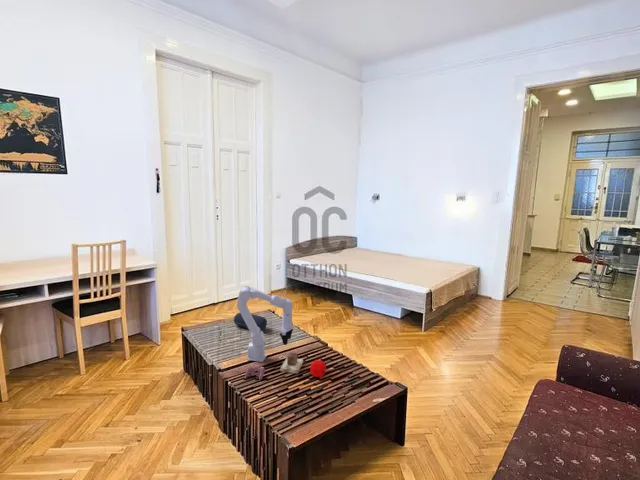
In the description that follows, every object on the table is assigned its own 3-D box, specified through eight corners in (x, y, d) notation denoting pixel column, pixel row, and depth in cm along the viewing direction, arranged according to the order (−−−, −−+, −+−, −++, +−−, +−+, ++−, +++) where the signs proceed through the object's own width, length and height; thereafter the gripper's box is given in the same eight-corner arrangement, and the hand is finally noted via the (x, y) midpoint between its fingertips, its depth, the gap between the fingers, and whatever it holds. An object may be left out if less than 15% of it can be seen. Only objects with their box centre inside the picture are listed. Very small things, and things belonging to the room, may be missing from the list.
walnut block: (287, 364, 191) (287, 356, 190) (289, 360, 195) (289, 352, 194) (294, 365, 190) (295, 357, 189) (297, 361, 194) (297, 353, 193)
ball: (323, 380, 180) (324, 366, 179) (309, 378, 182) (309, 365, 181) (326, 372, 188) (326, 359, 187) (312, 370, 190) (312, 357, 188)
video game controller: (264, 380, 181) (266, 366, 183) (260, 380, 177) (263, 366, 179) (247, 376, 184) (250, 363, 186) (243, 377, 180) (246, 363, 182)
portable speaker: (269, 329, 243) (269, 315, 241) (261, 334, 234) (261, 320, 232) (241, 322, 253) (240, 309, 251) (232, 327, 244) (232, 314, 242)
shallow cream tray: (280, 371, 188) (280, 367, 187) (286, 360, 199) (286, 357, 199) (298, 373, 186) (298, 369, 186) (303, 362, 198) (303, 359, 197)
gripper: (290, 325, 192) (290, 347, 194) (296, 316, 206) (296, 337, 208) (278, 324, 193) (278, 346, 195) (285, 315, 207) (285, 335, 209)
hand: (286, 341), depth 202 cm, fingers open, 7 cm apart
